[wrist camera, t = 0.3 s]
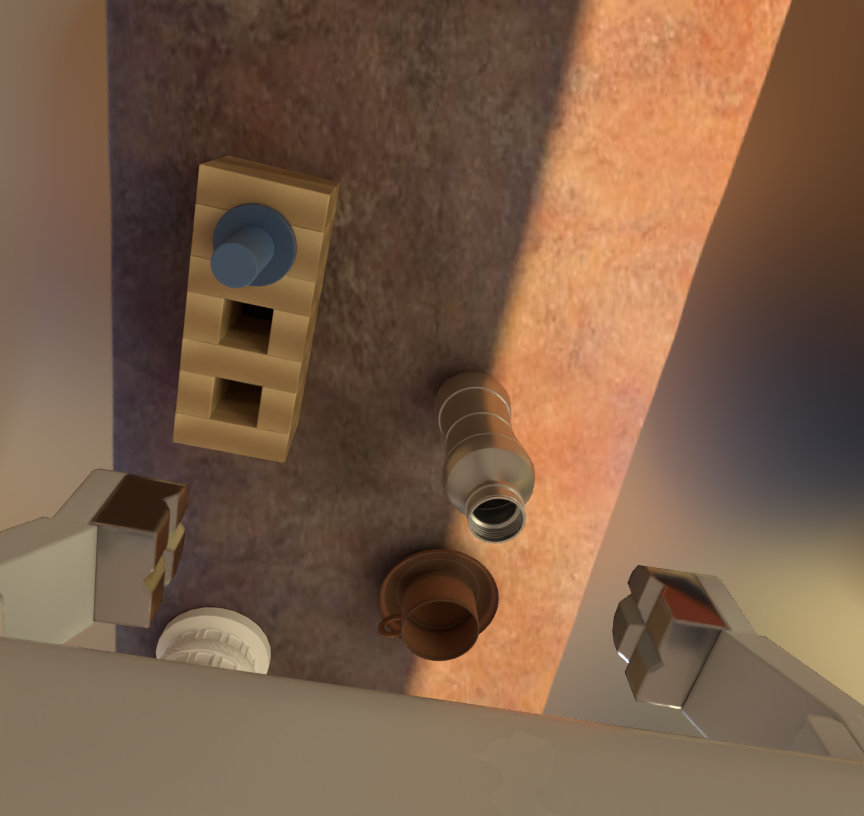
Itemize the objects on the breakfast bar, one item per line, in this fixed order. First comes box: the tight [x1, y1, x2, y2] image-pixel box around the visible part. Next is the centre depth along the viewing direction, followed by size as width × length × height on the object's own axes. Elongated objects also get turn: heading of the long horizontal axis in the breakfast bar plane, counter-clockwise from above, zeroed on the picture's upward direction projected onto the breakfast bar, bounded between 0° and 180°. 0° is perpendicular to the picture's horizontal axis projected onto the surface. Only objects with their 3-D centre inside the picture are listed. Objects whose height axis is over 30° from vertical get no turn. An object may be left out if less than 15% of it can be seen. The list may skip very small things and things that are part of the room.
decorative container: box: [156, 607, 271, 674], centre depth 65 cm, size 12×12×18 cm
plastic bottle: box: [434, 371, 535, 543], centre depth 53 cm, size 6×7×20 cm
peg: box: [211, 203, 297, 288], centre depth 48 cm, size 6×6×13 cm
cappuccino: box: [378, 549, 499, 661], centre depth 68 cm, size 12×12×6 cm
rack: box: [173, 156, 340, 463], centre depth 54 cm, size 21×9×8 cm, turn 167°
